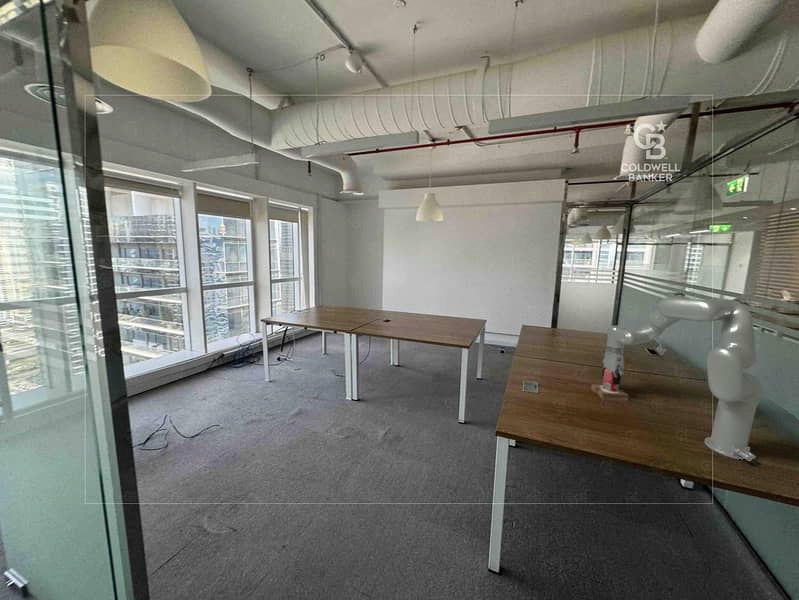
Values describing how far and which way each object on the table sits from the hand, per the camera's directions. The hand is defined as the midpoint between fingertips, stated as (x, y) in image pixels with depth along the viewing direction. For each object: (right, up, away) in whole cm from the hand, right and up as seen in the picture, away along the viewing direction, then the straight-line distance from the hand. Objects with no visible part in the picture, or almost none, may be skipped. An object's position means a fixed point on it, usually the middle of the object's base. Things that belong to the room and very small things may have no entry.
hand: (610, 380), depth 161 cm
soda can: (0, -5, +1) cm, 5 cm away
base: (0, -8, +1) cm, 8 cm away
